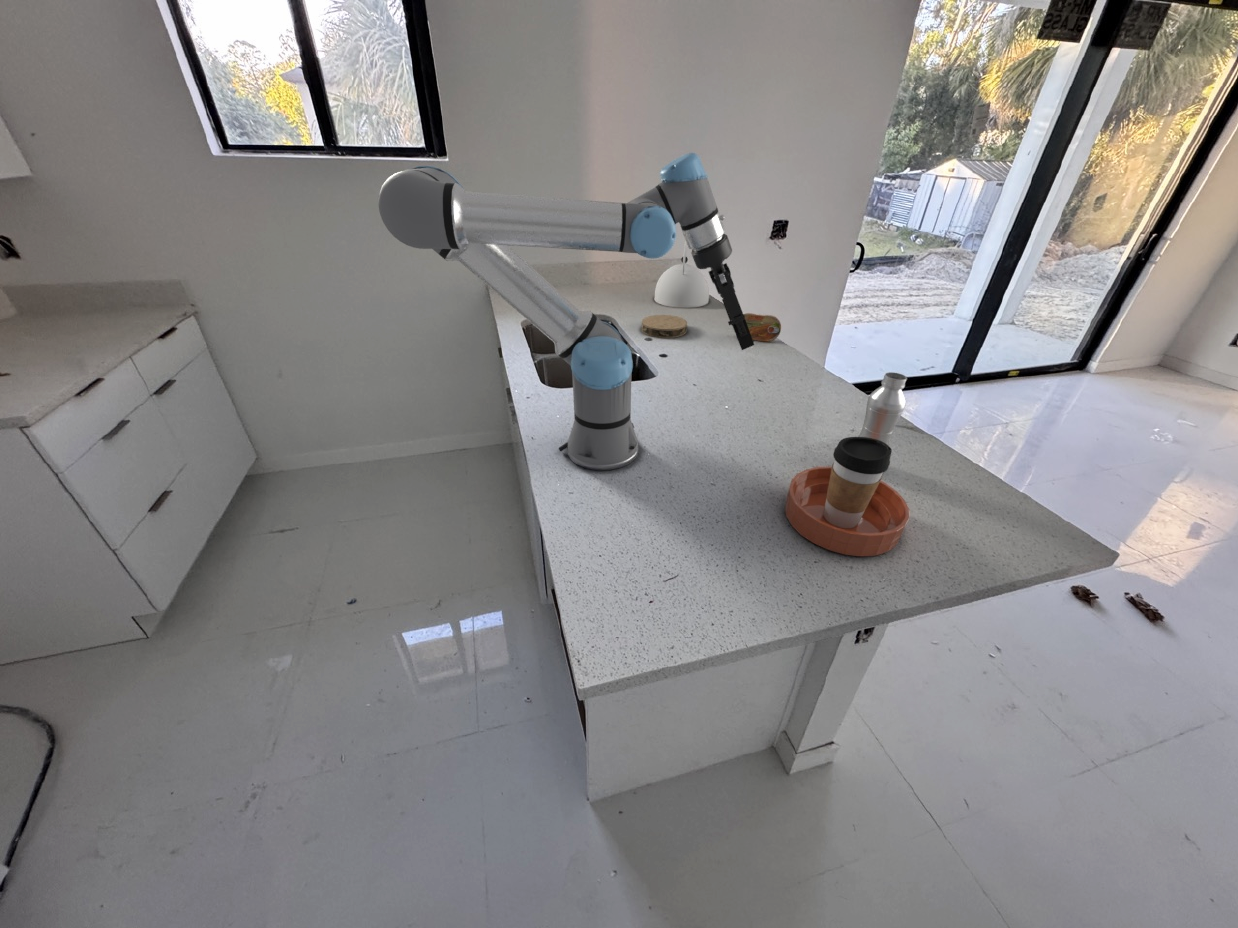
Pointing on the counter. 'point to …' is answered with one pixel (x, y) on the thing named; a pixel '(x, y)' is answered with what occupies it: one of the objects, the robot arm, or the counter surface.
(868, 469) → the coffee cup
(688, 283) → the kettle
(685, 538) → the counter surface
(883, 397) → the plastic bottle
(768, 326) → the tin
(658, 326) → the round brown disc
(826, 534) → the bowl
